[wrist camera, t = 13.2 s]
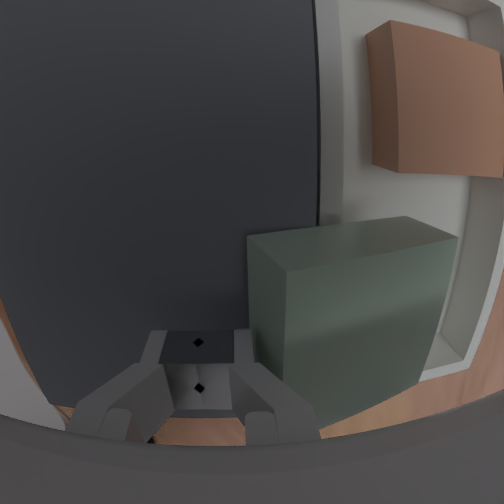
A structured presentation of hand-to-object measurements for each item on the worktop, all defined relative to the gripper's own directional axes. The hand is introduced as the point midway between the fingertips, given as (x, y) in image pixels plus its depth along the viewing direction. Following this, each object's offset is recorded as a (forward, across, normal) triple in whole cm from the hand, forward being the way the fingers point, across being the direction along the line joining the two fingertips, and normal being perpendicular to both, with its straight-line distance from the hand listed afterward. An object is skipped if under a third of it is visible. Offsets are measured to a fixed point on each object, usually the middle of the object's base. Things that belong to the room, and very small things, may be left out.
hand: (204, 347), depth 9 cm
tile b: (+1, -4, 0) cm, 5 cm away
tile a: (+3, -10, -8) cm, 13 cm away
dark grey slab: (+6, +3, -4) cm, 8 cm away
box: (+6, -9, -4) cm, 12 cm away
